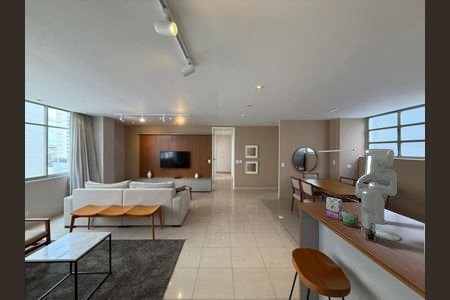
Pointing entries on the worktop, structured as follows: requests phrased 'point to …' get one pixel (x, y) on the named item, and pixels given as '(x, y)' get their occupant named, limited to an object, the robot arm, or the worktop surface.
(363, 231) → the walnut block
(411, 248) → the worktop surface
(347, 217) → the food container
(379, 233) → the dish
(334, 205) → the candy bar box
